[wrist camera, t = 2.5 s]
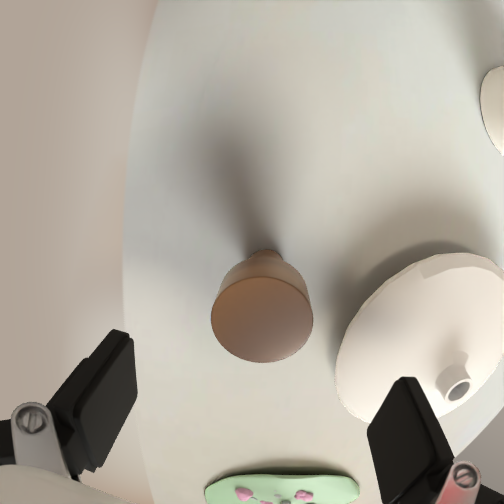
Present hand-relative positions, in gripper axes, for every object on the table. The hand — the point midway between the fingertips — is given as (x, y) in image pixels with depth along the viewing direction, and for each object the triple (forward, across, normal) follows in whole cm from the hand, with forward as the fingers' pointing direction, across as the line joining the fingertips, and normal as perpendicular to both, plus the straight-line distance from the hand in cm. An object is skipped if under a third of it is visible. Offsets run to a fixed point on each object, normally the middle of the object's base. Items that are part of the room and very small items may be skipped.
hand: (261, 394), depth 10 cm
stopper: (+11, 0, 0) cm, 11 cm away
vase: (+12, -13, +3) cm, 18 cm away
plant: (+12, -8, +35) cm, 38 cm away
